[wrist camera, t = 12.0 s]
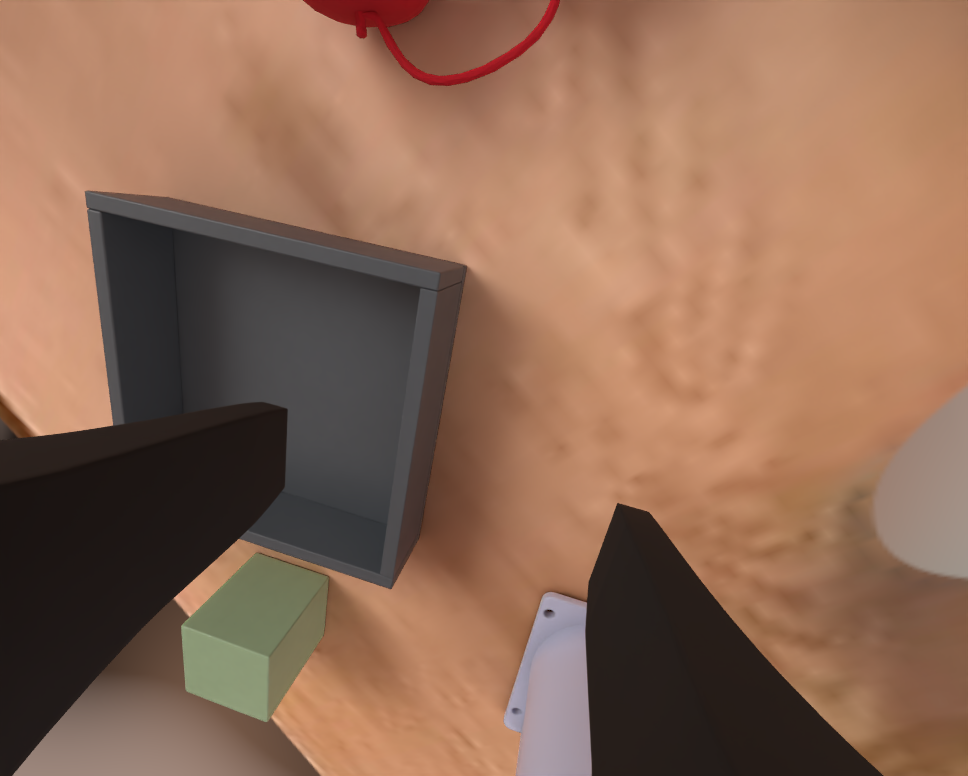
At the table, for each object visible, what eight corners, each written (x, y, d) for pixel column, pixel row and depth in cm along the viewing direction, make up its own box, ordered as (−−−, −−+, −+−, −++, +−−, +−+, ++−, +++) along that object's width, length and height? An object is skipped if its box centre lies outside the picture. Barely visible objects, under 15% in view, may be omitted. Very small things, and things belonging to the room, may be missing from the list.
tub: (419, 538, 22) (391, 590, 19) (183, 464, 24) (121, 500, 20) (467, 265, 17) (441, 272, 14) (167, 196, 19) (83, 190, 16)
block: (324, 634, 26) (267, 723, 21) (255, 610, 26) (185, 691, 22) (329, 576, 24) (269, 658, 19) (256, 551, 25) (180, 625, 20)
